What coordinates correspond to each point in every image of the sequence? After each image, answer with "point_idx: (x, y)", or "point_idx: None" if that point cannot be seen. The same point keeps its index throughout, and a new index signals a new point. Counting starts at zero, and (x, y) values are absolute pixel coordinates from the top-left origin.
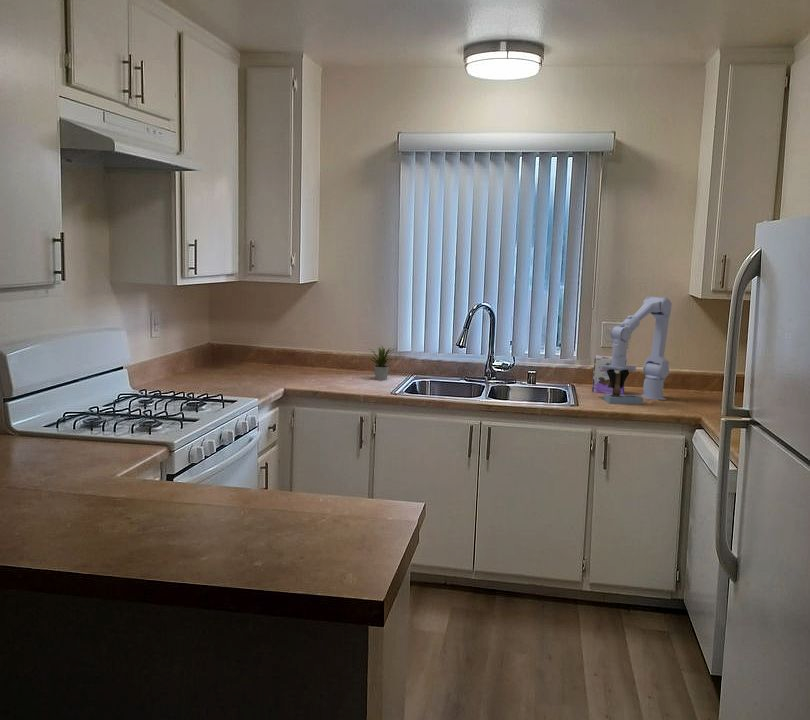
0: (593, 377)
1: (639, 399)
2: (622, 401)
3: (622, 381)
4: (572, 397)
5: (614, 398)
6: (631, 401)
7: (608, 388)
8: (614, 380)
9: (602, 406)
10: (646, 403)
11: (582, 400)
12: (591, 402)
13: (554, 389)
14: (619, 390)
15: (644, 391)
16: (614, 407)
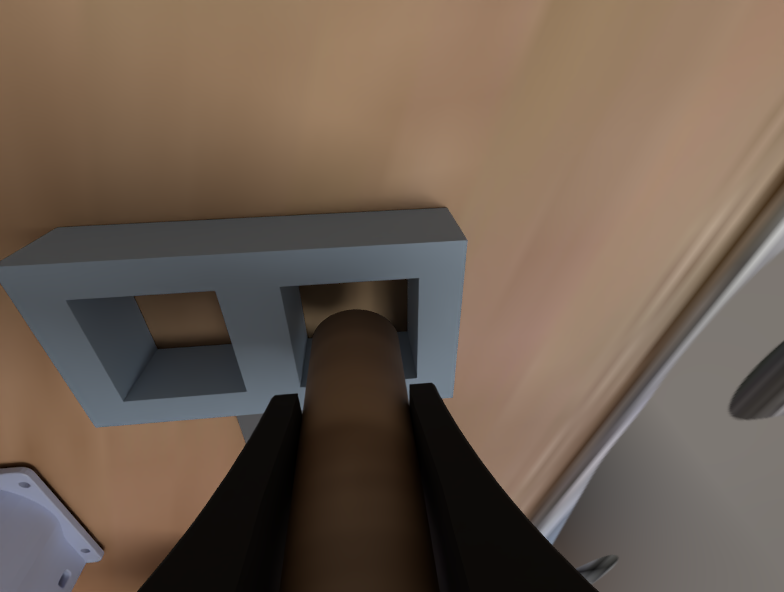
0: None
1: (56, 254)
2: (297, 230)
3: (260, 492)
4: (620, 430)
5: (403, 239)
6: (181, 236)
7: None
8: (444, 489)
9: (581, 76)
10: (26, 335)
11: (611, 351)
12: (581, 286)
13: (587, 570)
14: (321, 365)
15: (53, 580)
16: (449, 21)
